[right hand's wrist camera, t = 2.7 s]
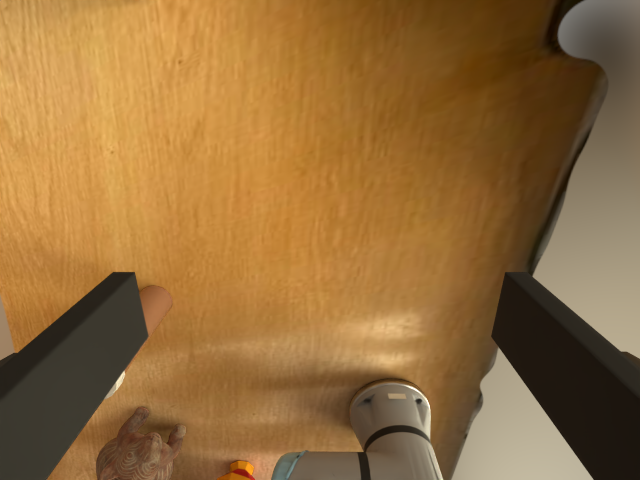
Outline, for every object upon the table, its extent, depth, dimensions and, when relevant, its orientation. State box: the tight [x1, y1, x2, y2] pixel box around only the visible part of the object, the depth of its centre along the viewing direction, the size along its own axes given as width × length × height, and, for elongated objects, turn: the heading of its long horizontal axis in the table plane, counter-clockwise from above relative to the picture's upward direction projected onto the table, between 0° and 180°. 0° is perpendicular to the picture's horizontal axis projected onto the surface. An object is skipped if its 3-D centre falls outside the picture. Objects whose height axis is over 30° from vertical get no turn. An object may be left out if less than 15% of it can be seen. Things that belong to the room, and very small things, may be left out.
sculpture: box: [96, 407, 186, 480], centre depth 64 cm, size 14×25×15 cm, turn 153°
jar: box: [125, 286, 173, 373], centre depth 52 cm, size 6×6×18 cm
